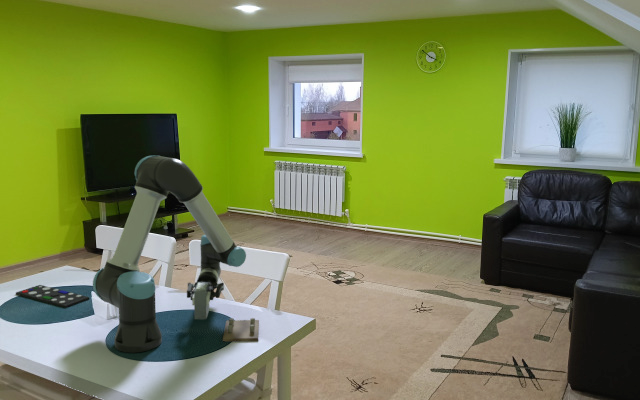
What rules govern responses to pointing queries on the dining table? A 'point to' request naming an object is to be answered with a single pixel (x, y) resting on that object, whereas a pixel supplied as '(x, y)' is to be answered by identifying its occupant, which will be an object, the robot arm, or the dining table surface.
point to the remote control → (52, 296)
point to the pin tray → (241, 330)
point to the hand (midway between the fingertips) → (200, 301)
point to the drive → (201, 300)
